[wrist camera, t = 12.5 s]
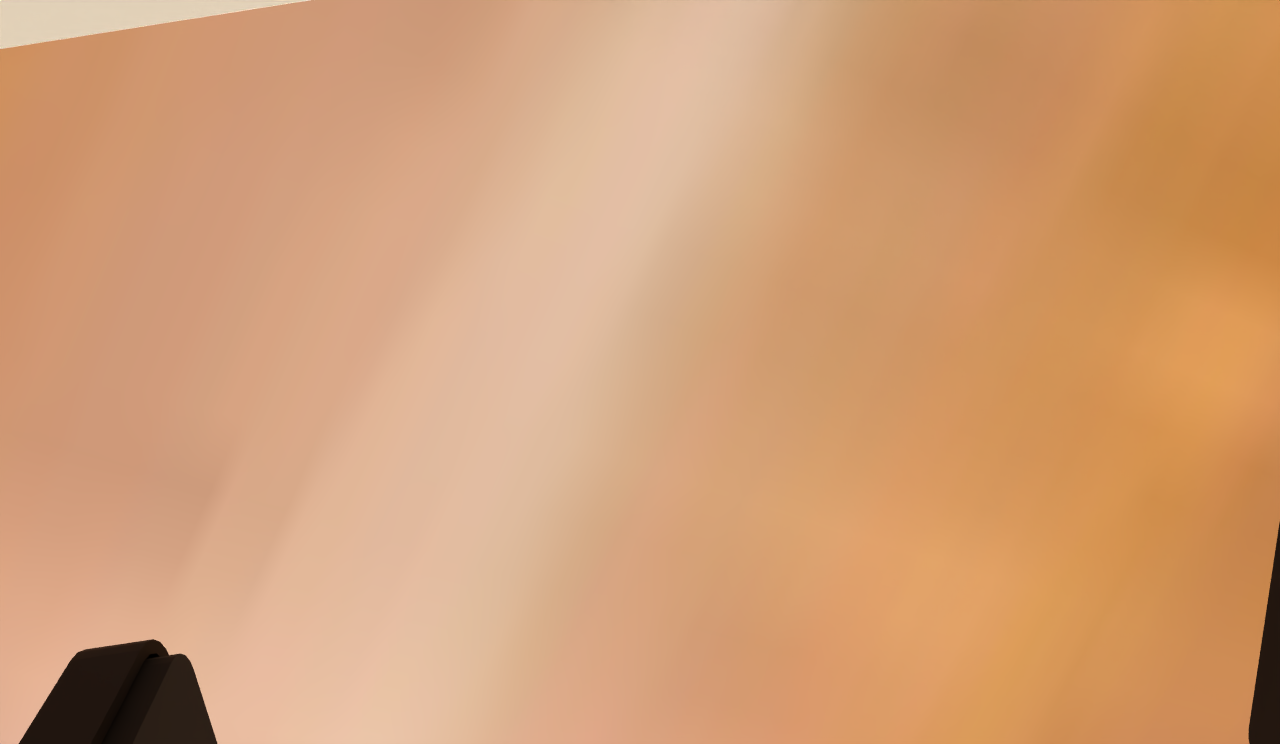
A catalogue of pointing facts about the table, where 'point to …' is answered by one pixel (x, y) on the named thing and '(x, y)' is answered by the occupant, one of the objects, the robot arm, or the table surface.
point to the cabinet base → (103, 16)
